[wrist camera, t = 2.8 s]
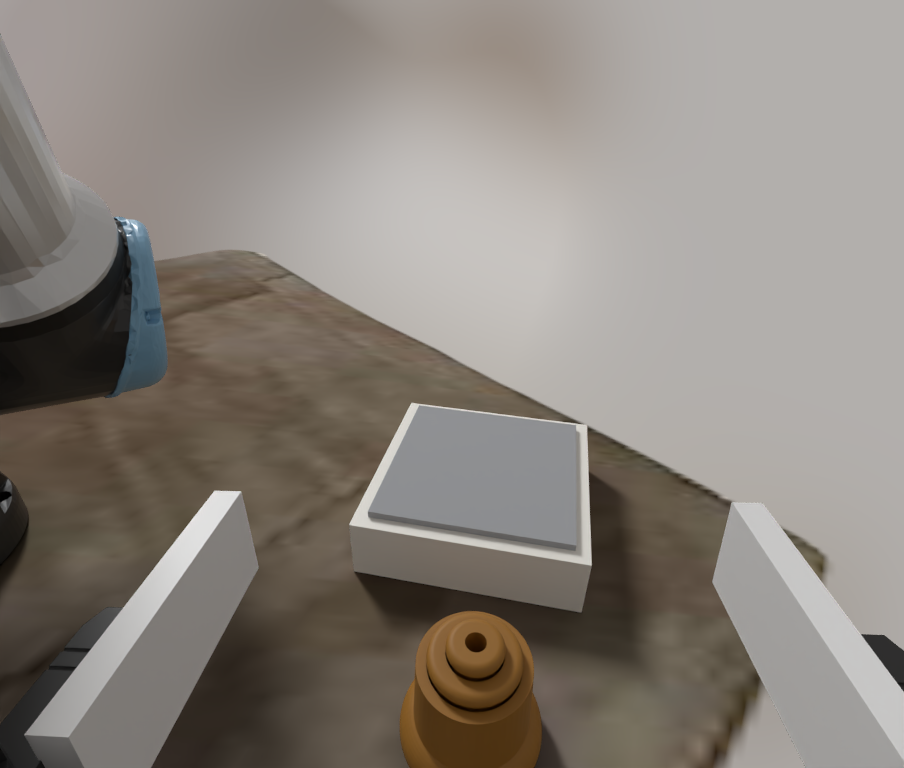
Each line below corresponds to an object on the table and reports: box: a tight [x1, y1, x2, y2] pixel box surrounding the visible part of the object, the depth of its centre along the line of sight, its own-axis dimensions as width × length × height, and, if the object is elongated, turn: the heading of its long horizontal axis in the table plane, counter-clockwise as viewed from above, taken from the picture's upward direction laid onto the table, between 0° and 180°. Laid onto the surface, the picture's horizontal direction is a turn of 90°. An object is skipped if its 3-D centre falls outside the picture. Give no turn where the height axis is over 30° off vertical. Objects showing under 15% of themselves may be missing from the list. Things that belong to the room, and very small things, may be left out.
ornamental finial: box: [400, 611, 542, 768], centre depth 27 cm, size 8×8×8 cm
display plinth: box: [349, 403, 592, 613], centre depth 42 cm, size 16×16×5 cm
